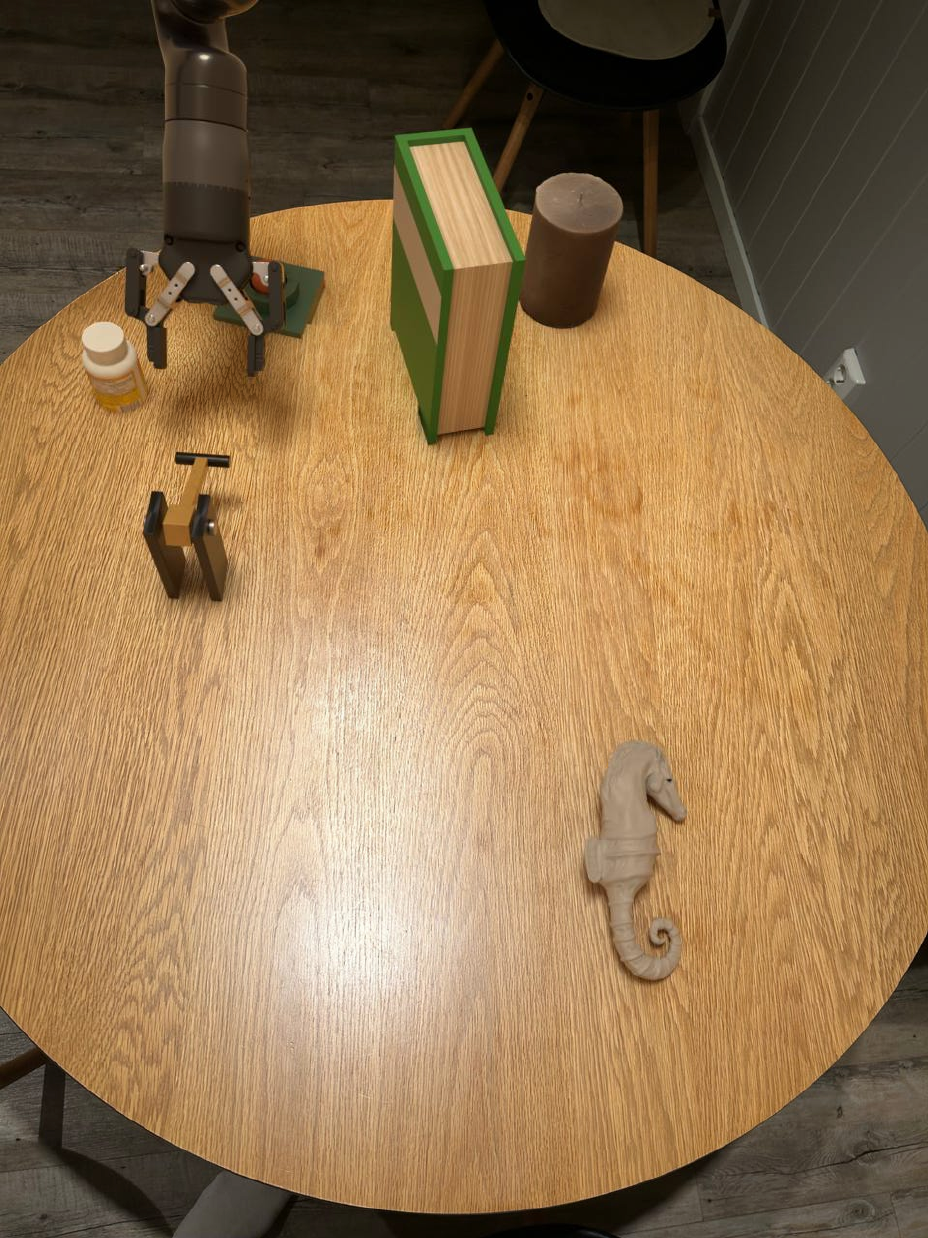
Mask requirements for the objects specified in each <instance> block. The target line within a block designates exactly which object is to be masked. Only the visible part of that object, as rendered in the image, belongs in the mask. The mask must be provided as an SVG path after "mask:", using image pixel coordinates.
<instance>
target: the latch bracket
mask: <svg viewBox="0 0 928 1238" xmlns="http://www.w3.org/2000/svg"><path fill="white" fill-rule="evenodd" d="M168 508H169V505H168V502H167V499H166V496H165V493H164V491H161V490H160V491H159V490H151V492H150V497H149V501H148V507H147V511H146V514H145V515H144V517H143V522H142V523H143V524H142V525H143V530H142V536H143V538H144V541H145V543H146V545H147V549H148V550H149V554H150V556H151V558H152V561H153V563H154V566H155V569H156V571H157V573H158V575H159V578H160V581H161V583H162V586H163V589H164V591H165V593H166V595H167V598H168V599H173V600H175V599H176V600H179V599H180V595H181V589H182V584H183V579H184V574H185V568H186V564H187V563H186V562H187V558H186V555H185V552H184V549H183V546H171V545H166V541H165V535H164V529H163V521H164V519H165V516H166V513H167V510H168ZM195 508H196V513H195V518H194V523H193V529H192V534H191V538H192V542H193V544H192V546H193V548H194V551H195V554H196V557H197V560H198V563H199V566H200V570H201V572H202V576H203V580H204V582H205V585H206V589H207V593H208V595H209V598H210V602H223V597H224V592H225V584H226V580H227V579H226V578H227V571H228V565H229V561H228V560H229V559H228V556H227V553H226V549H225V546H224V541H223V536H222V534H221V533H222V532H221V529H220V526H219V522H218V518H217V514H216V510H215V506H214V503H213V499H212V495H211V494H207V493H206V494H205V493H200V494H199V496H198V500H197V503H196V506H195Z"/></svg>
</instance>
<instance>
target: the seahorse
mask: <svg viewBox="0 0 928 1238" xmlns="http://www.w3.org/2000/svg"><path fill="white" fill-rule="evenodd" d="M676 784H677V783H676V780H675V778H674V777H673V773H672V770H671V767H670V764H669V759H668V758H667V756H665V754H664V752H663V750H662V748H661V746H660V745H657V746H656V745H655V743H654V742H651V741H647V740H645V739H644V740H642V739H634V740H629V741H625V742H623V743H622V742H621V743H620V744H619V745H618V746H617V747H616V748H615V749H614V750H613V752H612V753H611V755H610V758H609V760H608V763H607V768H606V770H605V772H604V775H603V778H602V780H601V785H600V788H599V798H600V806H601V826H600V827H601V828H600V832H599V835H598V836H599V837H598V838H597V837H595V836H593V835H589V836H588V837H587V838H586V839H585V843H584V848H583V858H584V859H583V860H584V866H585V870H586V874H587V877H588V880H589V882H591V883H593V884H599V885H601V886H602V887H603V889H604V890H605V893H606V896H607V901H608V903H607V906H608V907H609V912H610V913H609V914H610V923H609V926H610V928H611V930H612V933H613V934H612V935H613V939H612V942H613V944H614V946H615V949H616V952H617V953H618V955H619V957H620V958H619V960H620V962H621V963H622V962H623V964H624V965H625V967H626V968H627V969H628V970H630V971H631V973H632V975H633V976H635V977H640V978H642V979H645V980H650V981H651V980H652V981H656V980H659V979H661V980H662V979H665V978H667V977H668V976H669V975H671V973H672V972H673V971H675V969H676V968H677V966H678V964H679V961H680V960H681V958H682V946H683V942H682V940H681V939H682V938H681V936H680V930H679V928H678V927H677V926H676V925H675V924H674V922H673V921H672V920H671V919H670V918H665V917H659V916H658V917H654V918H653V920H652V922H651V926H650V927H649V929H648V934H649V939H650V940H651V942H652V943H653V944H655V945H663V944H665V942H666V940H667V938H666V937H662V938H659V937H658V933H659V931H662V930H664V931H666V932H667V936H668V938H669V939H670V942H669V944H668V947H669V948H668V951H667V952H666V953H665V955H664V956H661V957H659V956H653V957H652V956H650V955H647V954H646V953H645V952H644V950H643V949H642V948H641V947H640V946H639V944H638V941H637V937H638V935H637V934H636V933H635V927H634V919H633V916H632V915H633V914H632V909H633V905H634V903H635V896H636V894H637V893H638V892H639V890H640V889H642V887H643V886H645V884H647V882H649V880H650V878H652V877H653V875H654V872H655V871H654V864H655V861H656V859H657V857H658V856H661V855H662V852H661V851H660V849H659V845H658V844H659V843H658V841H657V834H658V831H659V827H658V826H657V817H656V815H655V813H654V812H653V810H651V808H650V807H649V804H648V797H647V796H650V797H651V798H653V799H654V801H655V802H656V803H657V804H658V805H659V806H660V807H661V808H663V809H664V810H665V811H666V812H667V814H668V815H669V816H671V818H672V819H673V820H674V821H677V822H682V821H684V820H685V819H686V818H687V814H688V808H687V807H686V805H684V804H683V801H682V799H681V796H680V795H679V791H678V789H677V785H676Z"/></svg>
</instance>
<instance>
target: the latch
mask: <svg viewBox="0 0 928 1238" xmlns="http://www.w3.org/2000/svg"><path fill="white" fill-rule="evenodd" d="M174 463H175V465H178V466H192V468H191V471H190V474H189V476H188V479H187V481H186V485H185V487H184V491H183V493H182V496H181V498H180V502H179V503H178V504H175V503H169V505H168V510H167V513H166V516H165V519H164V521H163V529H164V535H165V541H166V545H171V546H182V547H189V548H192V547H193V542H192V538H191V534H192V529H193V523H194V518H195V513H196V507H197V502H198V496H199V494H201V491H202V488H203V485H204V482H205V480H206V476H207V473H208V470H209V468H220V469H230V468H231V465H232V457H231V455H229V454H217V453H215V454H214V453H201V452H187V451H175V454H174Z"/></svg>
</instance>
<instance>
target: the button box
mask: <svg viewBox="0 0 928 1238" xmlns="http://www.w3.org/2000/svg"><path fill="white" fill-rule="evenodd" d="M251 257H252V260H253V261H254V262H257V261H259V260H263V259H266V258H265V257H259V256H257V255H256V256H255V255H251ZM270 259H271V260H273V259H272V258H270ZM274 260H275V261H278V262H280V263H282V264H283V265H284V267H285V290H286V320H287V324H286V327H285V328H284V329H282V330H277V331H274V332H271V333H273V334H276V335H282V336H287V337H291V338H295V339H302V337H303V336H304V335H303V334H304V332H305V329H306V328H307V325H311V324H312V322H313V319H314V316H315V314H316V312H317V308H318V306H319V303H320V301H321V298H322V295H323V292H324V290H325V287H326V278H325V277H326V276H325V271H324V270H320V269H316V268H311V267H306V266H303V265H302V266H301V265H297V264H293V263H287V262H285V261H281V260H276V259H274ZM243 290H244V291H245V293H246V294H247V296H248V297H249V299H250V300H251V302H252V303H253V305H254V306H255V309H256V310H257V312H258V313H259V315H260V316H261V318H262V319H263V320H264V319H268V318H270V313H269V294H263V293H260V292H258V291H257V290H256V289H255V288H254V287H253V285H252V279H251V280H250V281H249V282H248V284H247V285H246V286H245V288H244V289H243ZM212 317H213V320H214V321H217V322H221V323H227V324H230V325H236V326H240V327H245V328H248V327H247V325H246V324H245V322H244V321H243V319H242V318H241V316H240V315H239V314H238V313H237V312H236V310H235V309H234V307H233V306H232V305H231V304H230V305H226V306H217V305H216V307H215V309H214V311H213V313H212Z"/></svg>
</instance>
